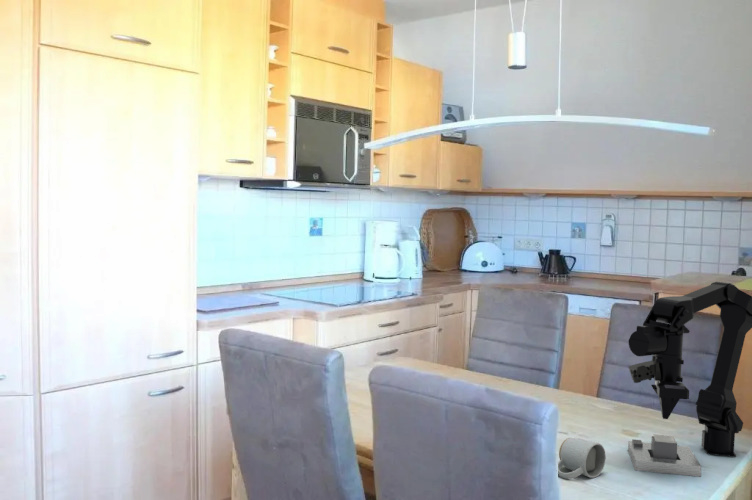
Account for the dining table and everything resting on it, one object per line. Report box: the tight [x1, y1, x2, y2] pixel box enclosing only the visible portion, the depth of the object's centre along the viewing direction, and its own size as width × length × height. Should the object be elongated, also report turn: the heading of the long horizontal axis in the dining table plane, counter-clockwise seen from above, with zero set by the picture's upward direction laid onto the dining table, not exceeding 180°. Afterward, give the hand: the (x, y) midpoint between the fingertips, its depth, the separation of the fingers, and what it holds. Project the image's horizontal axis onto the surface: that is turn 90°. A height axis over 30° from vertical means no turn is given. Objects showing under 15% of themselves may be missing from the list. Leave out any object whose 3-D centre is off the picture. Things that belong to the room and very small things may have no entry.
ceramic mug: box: [557, 437, 607, 480], centre depth 158 cm, size 11×8×8 cm
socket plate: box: [627, 439, 702, 478], centre depth 166 cm, size 14×13×3 cm
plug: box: [650, 433, 678, 460], centre depth 165 cm, size 5×4×7 cm
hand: (665, 418), depth 164 cm, fingers closed
